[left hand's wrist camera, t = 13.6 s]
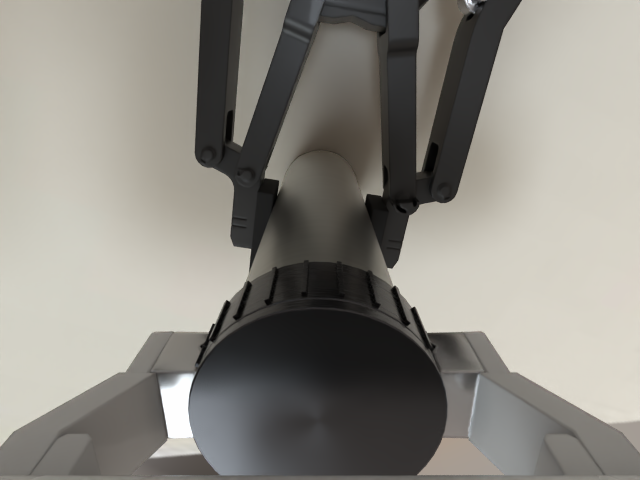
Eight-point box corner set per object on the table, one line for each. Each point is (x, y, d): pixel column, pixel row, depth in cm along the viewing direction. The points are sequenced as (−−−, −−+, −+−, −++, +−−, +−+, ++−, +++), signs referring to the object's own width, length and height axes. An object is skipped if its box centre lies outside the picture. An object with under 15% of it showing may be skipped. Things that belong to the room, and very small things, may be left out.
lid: (434, 254, 9) (464, 300, 7) (421, 437, 11) (442, 511, 9) (195, 260, 9) (163, 307, 8) (223, 441, 11) (202, 515, 9)
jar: (356, 148, 26) (434, 306, 8) (356, 220, 27) (420, 481, 10) (281, 151, 26) (194, 313, 8) (285, 222, 27) (221, 485, 10)
